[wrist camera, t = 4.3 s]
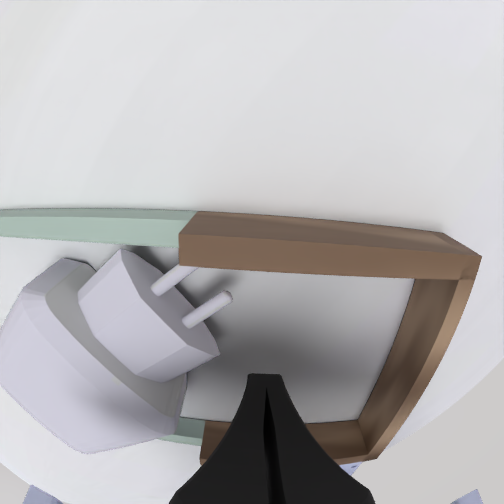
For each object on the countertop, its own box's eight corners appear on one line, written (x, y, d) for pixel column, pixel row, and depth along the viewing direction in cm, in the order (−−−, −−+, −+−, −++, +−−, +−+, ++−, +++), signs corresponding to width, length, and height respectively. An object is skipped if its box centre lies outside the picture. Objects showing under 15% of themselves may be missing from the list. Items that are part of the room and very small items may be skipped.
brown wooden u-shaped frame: (366, 426, 16) (376, 458, 13) (206, 428, 16) (200, 465, 13) (442, 233, 11) (482, 256, 8) (197, 211, 11) (178, 233, 8)
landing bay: (206, 428, 16) (203, 446, 14) (11, 374, 16) (3, 384, 14) (197, 211, 11) (189, 220, 9) (-40, 211, 11) (-55, 218, 9)
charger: (283, 324, 13) (109, 412, 17) (152, 165, 11) (18, 323, 14) (294, 399, 9) (89, 460, 12) (92, 181, 6) (-19, 363, 10)
